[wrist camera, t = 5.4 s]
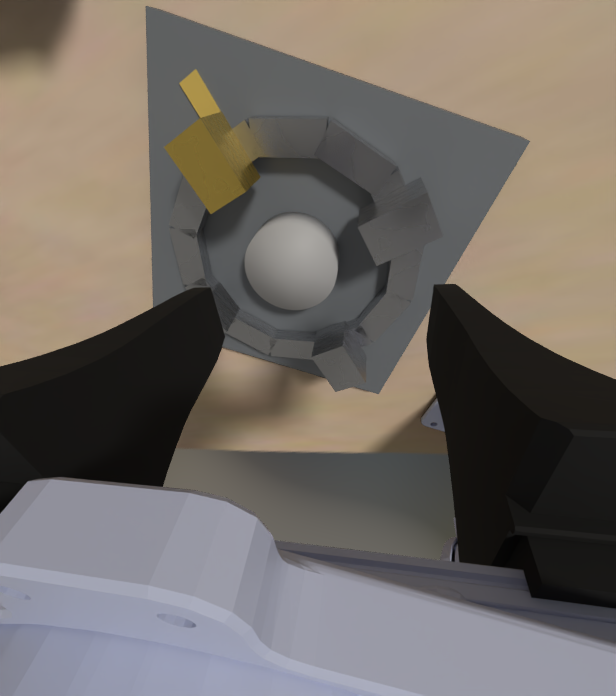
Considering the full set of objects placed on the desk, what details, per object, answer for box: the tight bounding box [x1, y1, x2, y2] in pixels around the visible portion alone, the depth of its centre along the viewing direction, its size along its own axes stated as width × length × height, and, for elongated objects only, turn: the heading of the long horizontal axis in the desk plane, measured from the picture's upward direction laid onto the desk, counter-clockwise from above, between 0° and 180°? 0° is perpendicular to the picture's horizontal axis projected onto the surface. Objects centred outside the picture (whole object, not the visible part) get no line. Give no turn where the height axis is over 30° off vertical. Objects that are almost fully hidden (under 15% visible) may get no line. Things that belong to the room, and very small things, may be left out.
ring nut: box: [164, 112, 443, 392], centre depth 19 cm, size 15×15×4 cm
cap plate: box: [146, 6, 530, 394], centre depth 20 cm, size 17×17×3 cm
